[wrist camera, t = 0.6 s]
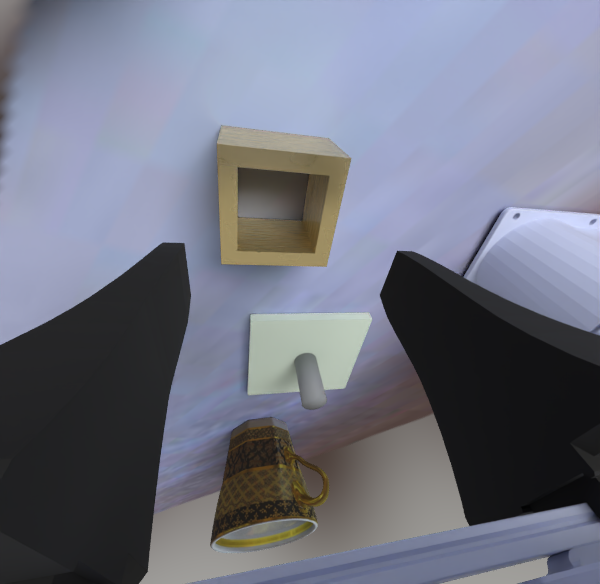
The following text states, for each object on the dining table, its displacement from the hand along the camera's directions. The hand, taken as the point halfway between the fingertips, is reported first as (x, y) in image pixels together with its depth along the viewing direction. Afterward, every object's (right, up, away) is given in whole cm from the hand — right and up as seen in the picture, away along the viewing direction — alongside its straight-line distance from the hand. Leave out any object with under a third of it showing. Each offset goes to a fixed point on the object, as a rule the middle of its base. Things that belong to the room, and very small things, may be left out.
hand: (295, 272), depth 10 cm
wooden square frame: (-1, +5, +7) cm, 9 cm away
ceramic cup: (-4, -16, +24) cm, 30 cm away
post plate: (0, -6, +17) cm, 18 cm away
